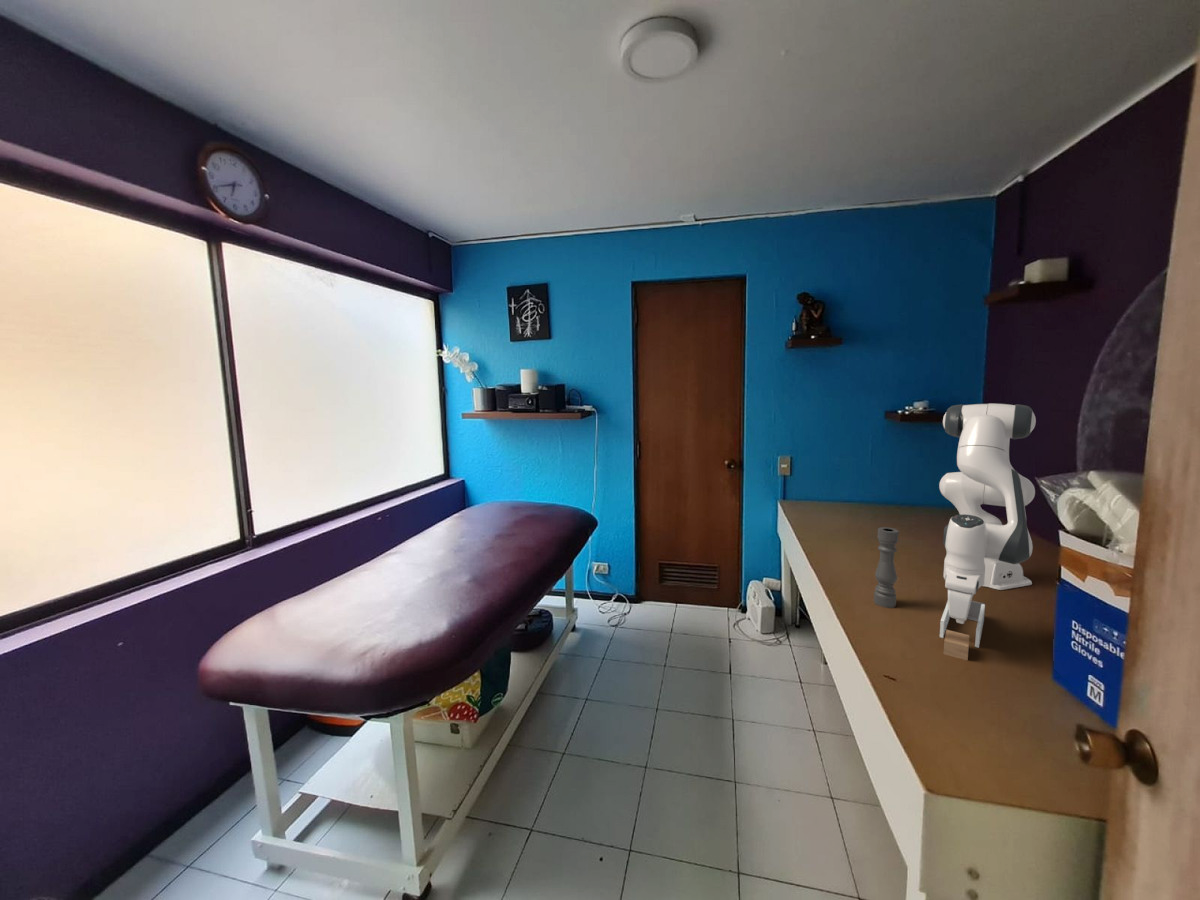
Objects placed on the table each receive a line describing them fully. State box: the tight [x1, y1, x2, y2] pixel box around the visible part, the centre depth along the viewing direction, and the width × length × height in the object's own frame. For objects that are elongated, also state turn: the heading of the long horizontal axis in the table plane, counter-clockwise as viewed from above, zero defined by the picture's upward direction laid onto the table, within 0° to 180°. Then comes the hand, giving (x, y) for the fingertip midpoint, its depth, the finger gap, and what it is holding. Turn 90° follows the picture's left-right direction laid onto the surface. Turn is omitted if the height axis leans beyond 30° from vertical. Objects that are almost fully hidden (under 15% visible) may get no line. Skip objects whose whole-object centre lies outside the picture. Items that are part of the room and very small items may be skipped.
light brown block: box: [943, 629, 970, 661], centre depth 123 cm, size 7×5×4 cm
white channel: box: [939, 600, 986, 648], centre depth 134 cm, size 20×9×5 cm, turn 137°
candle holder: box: [873, 526, 900, 609], centre depth 149 cm, size 6×6×25 cm
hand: (960, 621), depth 128 cm, fingers closed
